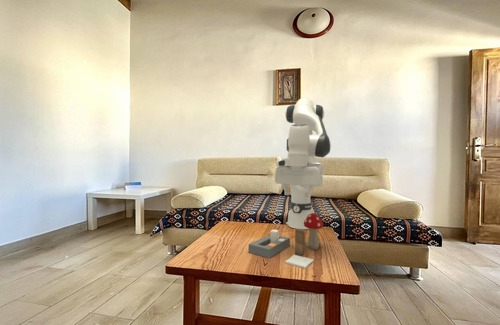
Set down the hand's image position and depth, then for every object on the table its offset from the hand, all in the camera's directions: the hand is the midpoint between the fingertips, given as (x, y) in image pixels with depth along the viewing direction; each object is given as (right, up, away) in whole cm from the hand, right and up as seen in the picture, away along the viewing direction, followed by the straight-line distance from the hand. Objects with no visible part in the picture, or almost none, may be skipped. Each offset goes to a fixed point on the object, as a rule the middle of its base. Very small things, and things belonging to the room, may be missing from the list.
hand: (297, 196), depth 98 cm
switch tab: (-8, -22, +8) cm, 25 cm away
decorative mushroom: (+9, -24, +8) cm, 27 cm away
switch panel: (-11, -24, +5) cm, 27 cm away
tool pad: (-1, -24, -8) cm, 25 cm away
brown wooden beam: (+1, -24, -1) cm, 24 cm away
